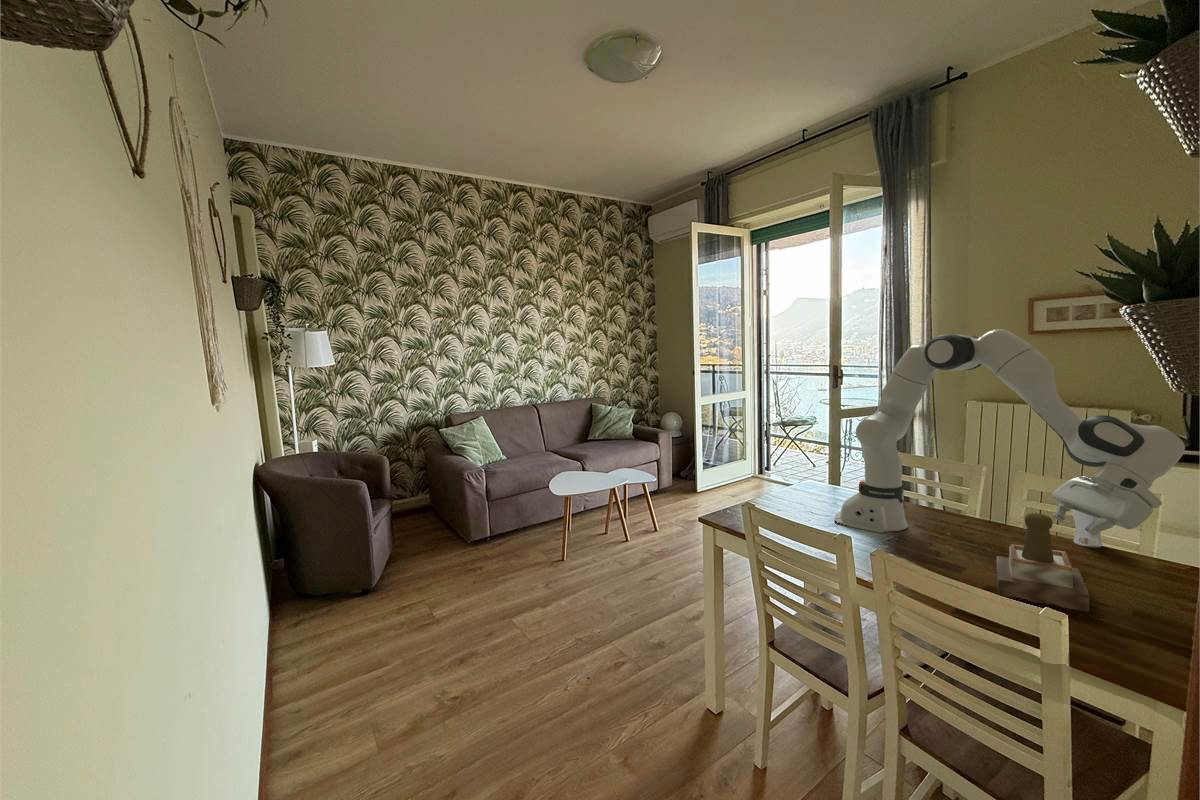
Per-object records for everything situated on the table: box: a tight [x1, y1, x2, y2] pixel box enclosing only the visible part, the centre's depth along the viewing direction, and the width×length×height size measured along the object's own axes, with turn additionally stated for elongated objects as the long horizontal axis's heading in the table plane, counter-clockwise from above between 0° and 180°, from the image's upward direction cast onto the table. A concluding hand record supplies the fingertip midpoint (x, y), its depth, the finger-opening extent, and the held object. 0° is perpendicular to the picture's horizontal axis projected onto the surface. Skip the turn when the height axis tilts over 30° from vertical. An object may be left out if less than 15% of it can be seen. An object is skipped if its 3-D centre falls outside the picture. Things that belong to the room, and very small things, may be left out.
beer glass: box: [1072, 509, 1103, 549], centre depth 147 cm, size 7×7×15 cm
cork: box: [1022, 512, 1054, 563], centre depth 123 cm, size 6×6×11 cm
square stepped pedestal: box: [995, 543, 1090, 613], centre depth 124 cm, size 16×16×9 cm
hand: (1072, 525), depth 122 cm, fingers open, 8 cm apart
